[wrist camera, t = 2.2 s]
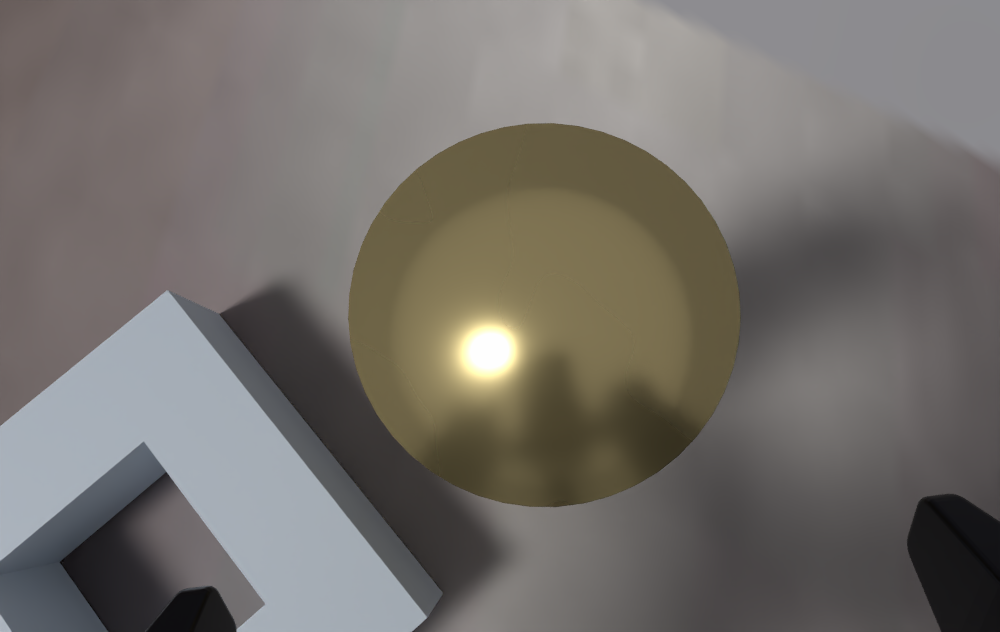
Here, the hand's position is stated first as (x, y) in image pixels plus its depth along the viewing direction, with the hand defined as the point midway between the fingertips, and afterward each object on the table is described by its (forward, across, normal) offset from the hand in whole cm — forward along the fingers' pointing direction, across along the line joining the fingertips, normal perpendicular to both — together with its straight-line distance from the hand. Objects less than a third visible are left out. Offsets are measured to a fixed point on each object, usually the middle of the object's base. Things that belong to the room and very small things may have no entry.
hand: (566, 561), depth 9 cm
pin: (+9, 0, +6) cm, 11 cm away
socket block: (+7, +10, +8) cm, 14 cm away
